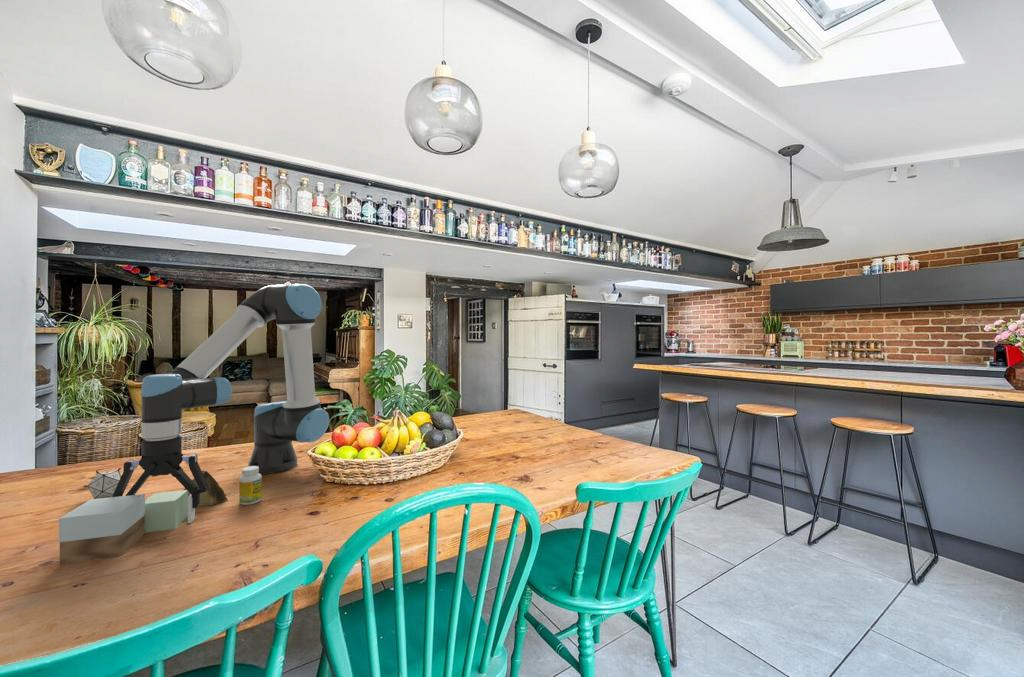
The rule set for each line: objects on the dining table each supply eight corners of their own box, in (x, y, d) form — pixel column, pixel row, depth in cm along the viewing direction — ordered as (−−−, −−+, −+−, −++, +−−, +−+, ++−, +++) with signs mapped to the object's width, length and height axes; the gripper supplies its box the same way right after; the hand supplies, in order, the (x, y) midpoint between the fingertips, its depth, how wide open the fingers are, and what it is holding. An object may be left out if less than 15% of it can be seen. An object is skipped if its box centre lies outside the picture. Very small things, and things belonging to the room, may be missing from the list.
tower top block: (145, 514, 95) (145, 493, 95) (120, 534, 86) (120, 511, 86) (90, 520, 92) (90, 499, 92) (59, 542, 83) (58, 518, 83)
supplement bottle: (246, 497, 117) (246, 464, 117) (265, 497, 117) (265, 464, 117) (234, 505, 112) (234, 471, 111) (254, 505, 112) (254, 471, 112)
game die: (97, 512, 115) (75, 484, 115) (133, 491, 122) (112, 465, 122) (100, 504, 110) (77, 475, 109) (137, 483, 117) (116, 456, 116)
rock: (164, 499, 110) (183, 501, 105) (185, 468, 115) (204, 469, 110) (202, 511, 117) (221, 513, 113) (219, 481, 122) (239, 483, 118)
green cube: (187, 516, 105) (187, 490, 105) (175, 529, 98) (175, 500, 98) (154, 520, 102) (154, 493, 102) (139, 533, 96) (139, 504, 96)
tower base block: (144, 535, 96) (144, 514, 96) (122, 557, 86) (122, 534, 86) (89, 543, 92) (89, 521, 92) (59, 566, 83) (59, 542, 83)
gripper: (223, 429, 107) (222, 510, 108) (106, 437, 98) (106, 526, 98) (215, 436, 101) (215, 523, 101) (89, 445, 91) (89, 541, 91)
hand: (161, 525), depth 99 cm, fingers open, 11 cm apart
